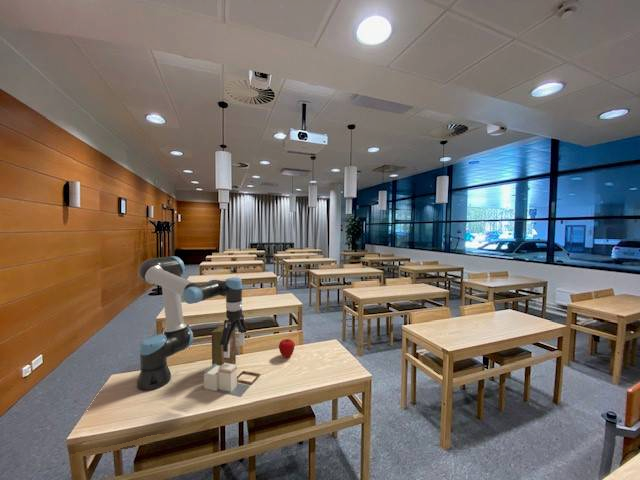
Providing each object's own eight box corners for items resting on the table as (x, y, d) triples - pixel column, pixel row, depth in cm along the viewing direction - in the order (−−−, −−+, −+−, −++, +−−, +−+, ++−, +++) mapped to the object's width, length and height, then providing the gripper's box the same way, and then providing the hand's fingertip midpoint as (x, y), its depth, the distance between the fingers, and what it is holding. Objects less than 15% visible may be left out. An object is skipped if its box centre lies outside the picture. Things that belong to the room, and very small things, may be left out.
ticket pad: (203, 388, 132) (203, 371, 132) (214, 379, 140) (214, 363, 139) (215, 391, 130) (215, 374, 130) (226, 381, 138) (225, 365, 138)
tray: (234, 383, 139) (234, 379, 139) (243, 374, 147) (243, 370, 147) (252, 386, 136) (252, 382, 136) (260, 377, 144) (260, 373, 144)
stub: (218, 389, 132) (218, 367, 131) (224, 383, 136) (224, 362, 136) (231, 391, 130) (230, 369, 129) (236, 385, 135) (236, 364, 134)
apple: (276, 358, 165) (275, 341, 165) (284, 351, 174) (284, 335, 173) (289, 361, 161) (289, 344, 161) (297, 354, 170) (297, 337, 169)
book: (228, 361, 161) (228, 321, 159) (236, 362, 160) (236, 321, 158) (212, 376, 145) (211, 331, 143) (221, 377, 143) (220, 332, 142)
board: (201, 391, 132) (201, 388, 132) (213, 380, 141) (213, 378, 141) (240, 399, 126) (240, 396, 126) (250, 388, 135) (250, 385, 135)
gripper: (226, 318, 119) (226, 364, 120) (253, 302, 143) (253, 341, 144) (211, 316, 121) (212, 362, 122) (240, 301, 145) (241, 339, 146)
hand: (234, 350), depth 133 cm, fingers open, 13 cm apart
